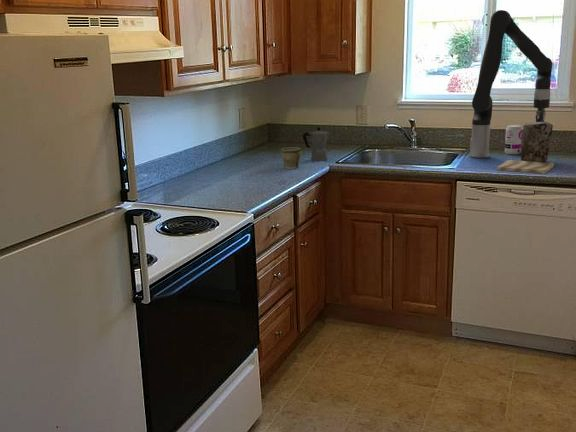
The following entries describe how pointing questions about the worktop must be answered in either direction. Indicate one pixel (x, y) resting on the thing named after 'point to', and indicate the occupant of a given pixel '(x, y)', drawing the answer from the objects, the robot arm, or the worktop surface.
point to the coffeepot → (317, 144)
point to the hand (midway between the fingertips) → (539, 132)
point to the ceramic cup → (291, 157)
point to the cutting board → (525, 166)
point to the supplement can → (513, 139)
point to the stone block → (536, 141)
